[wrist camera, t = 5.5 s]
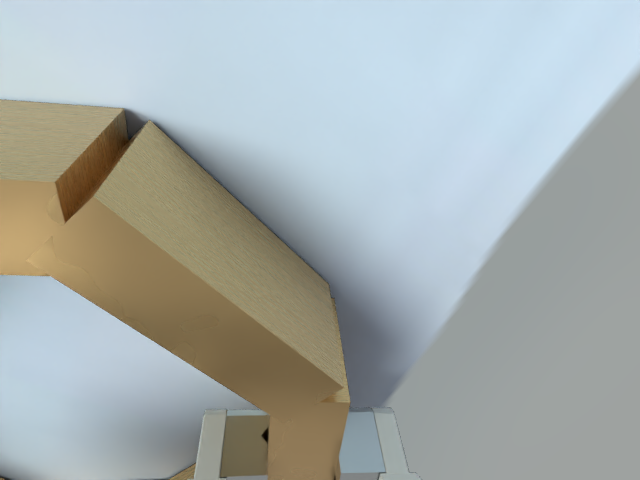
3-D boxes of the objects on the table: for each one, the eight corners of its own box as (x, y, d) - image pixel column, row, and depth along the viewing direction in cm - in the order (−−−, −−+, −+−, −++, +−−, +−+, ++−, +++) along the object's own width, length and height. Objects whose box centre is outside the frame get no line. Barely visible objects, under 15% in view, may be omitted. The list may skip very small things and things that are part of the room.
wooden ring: (303, 500, 16) (307, 601, 14) (-125, 512, 15) (-208, 630, 12) (360, 125, 9) (393, 200, 6) (-525, 62, 7) (-981, 128, 4)
